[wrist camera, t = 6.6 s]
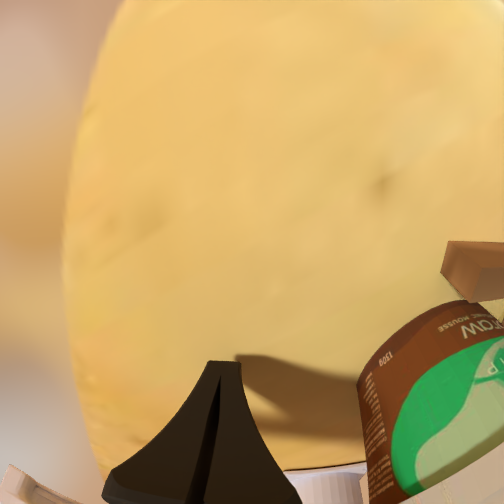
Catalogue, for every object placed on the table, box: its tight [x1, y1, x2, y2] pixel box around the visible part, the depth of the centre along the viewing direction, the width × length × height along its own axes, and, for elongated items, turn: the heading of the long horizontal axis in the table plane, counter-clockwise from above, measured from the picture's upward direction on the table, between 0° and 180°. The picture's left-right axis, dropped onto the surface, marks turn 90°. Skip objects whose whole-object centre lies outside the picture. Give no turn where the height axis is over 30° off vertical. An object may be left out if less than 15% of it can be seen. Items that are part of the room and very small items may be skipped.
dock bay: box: [440, 241, 504, 326], centre depth 11 cm, size 12×8×3 cm
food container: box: [357, 300, 504, 504], centre depth 8 cm, size 12×6×10 cm, turn 95°
